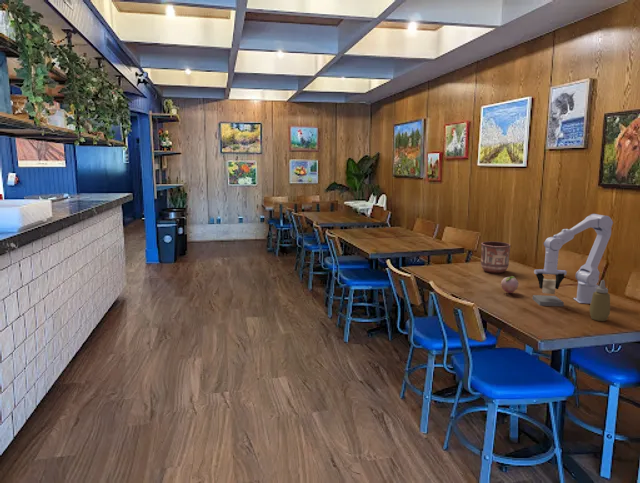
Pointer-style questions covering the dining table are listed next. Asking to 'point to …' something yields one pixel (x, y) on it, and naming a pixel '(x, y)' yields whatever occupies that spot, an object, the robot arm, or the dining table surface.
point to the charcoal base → (547, 300)
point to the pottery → (495, 256)
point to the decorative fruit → (509, 284)
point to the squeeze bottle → (600, 303)
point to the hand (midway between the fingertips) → (548, 288)
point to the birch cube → (549, 286)
